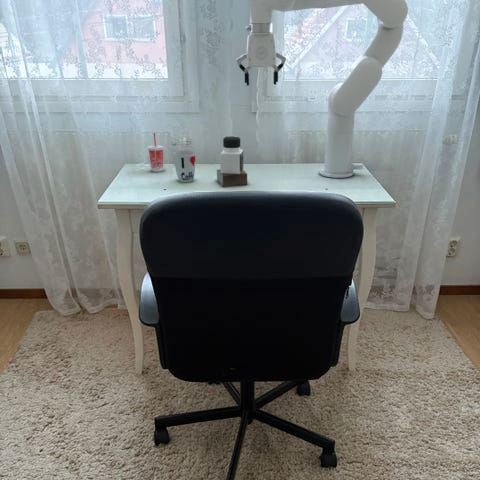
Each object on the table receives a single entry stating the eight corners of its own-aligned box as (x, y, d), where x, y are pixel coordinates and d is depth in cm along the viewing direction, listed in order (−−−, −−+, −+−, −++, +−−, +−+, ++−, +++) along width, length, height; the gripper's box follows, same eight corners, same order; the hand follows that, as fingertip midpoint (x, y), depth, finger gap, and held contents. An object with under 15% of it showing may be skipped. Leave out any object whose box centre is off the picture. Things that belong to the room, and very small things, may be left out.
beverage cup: (166, 168, 206) (163, 131, 199) (164, 172, 201) (161, 134, 194) (150, 168, 206) (147, 131, 199) (148, 172, 201) (145, 134, 194)
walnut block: (240, 178, 192) (240, 167, 190) (247, 184, 185) (247, 173, 183) (216, 180, 190) (216, 169, 188) (222, 187, 183) (222, 175, 181)
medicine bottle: (240, 174, 182) (240, 139, 176) (220, 173, 183) (219, 138, 177) (243, 169, 188) (243, 135, 182) (224, 168, 189) (223, 134, 183)
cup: (179, 184, 186) (178, 156, 181) (171, 179, 192) (169, 151, 187) (200, 181, 189) (199, 153, 184) (191, 176, 196) (190, 149, 191)
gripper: (235, 30, 171) (237, 86, 180) (287, 28, 171) (286, 85, 180) (235, 30, 177) (236, 84, 186) (285, 28, 178) (284, 83, 186)
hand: (261, 84), depth 183 cm, fingers open, 9 cm apart
